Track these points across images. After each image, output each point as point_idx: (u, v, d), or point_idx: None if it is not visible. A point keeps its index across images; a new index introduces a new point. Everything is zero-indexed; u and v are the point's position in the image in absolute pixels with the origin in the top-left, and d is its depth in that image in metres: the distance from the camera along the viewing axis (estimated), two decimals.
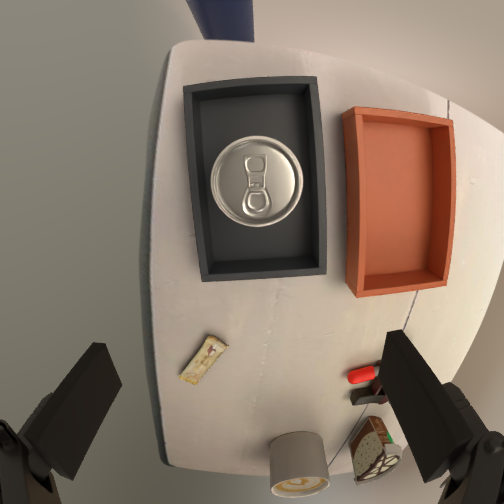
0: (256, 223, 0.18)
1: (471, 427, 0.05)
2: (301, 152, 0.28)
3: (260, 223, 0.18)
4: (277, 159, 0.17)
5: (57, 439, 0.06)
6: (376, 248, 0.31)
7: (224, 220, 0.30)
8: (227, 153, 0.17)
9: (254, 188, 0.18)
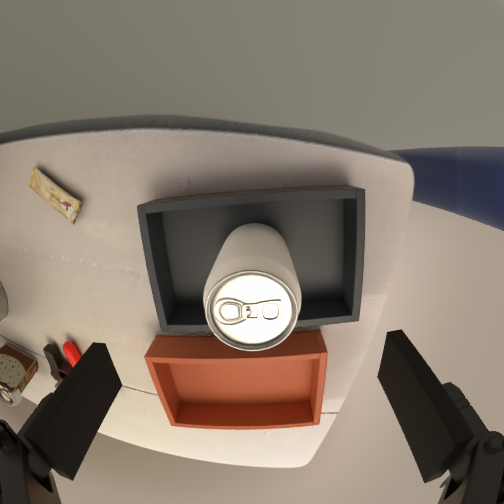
0: (207, 312, 0.17)
1: (471, 427, 0.05)
2: None
3: (207, 316, 0.17)
4: (275, 330, 0.17)
5: (57, 439, 0.06)
6: None
7: (206, 218, 0.27)
8: (284, 285, 0.16)
9: (244, 309, 0.17)
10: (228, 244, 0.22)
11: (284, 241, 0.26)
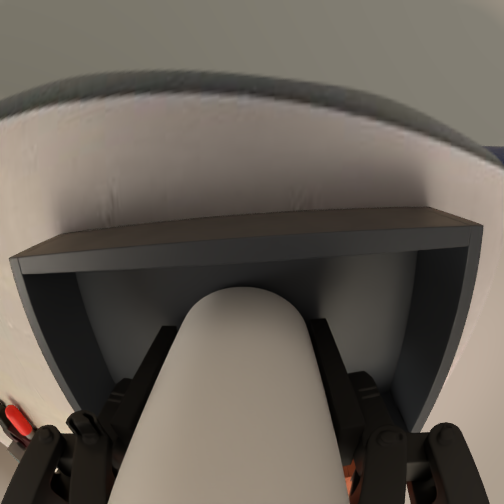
0: None
1: (374, 417, 0.07)
2: None
3: None
4: None
5: None
6: None
7: (147, 273, 0.13)
8: None
9: None
10: (169, 376, 0.08)
11: (305, 329, 0.12)
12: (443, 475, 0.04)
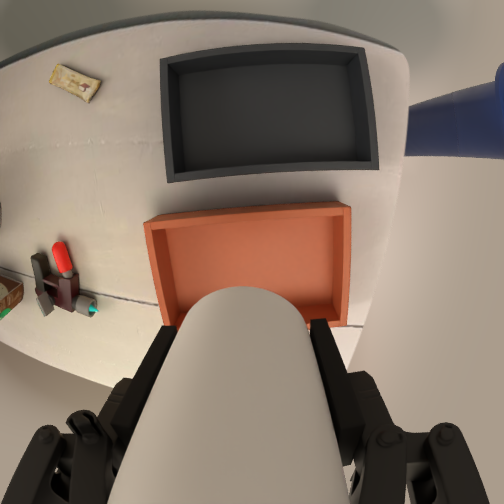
0: None
1: (374, 417, 0.07)
2: (295, 156, 0.27)
3: None
4: None
5: None
6: (196, 245, 0.30)
7: (222, 82, 0.25)
8: None
9: None
10: (169, 376, 0.08)
11: (305, 328, 0.12)
12: (443, 475, 0.04)
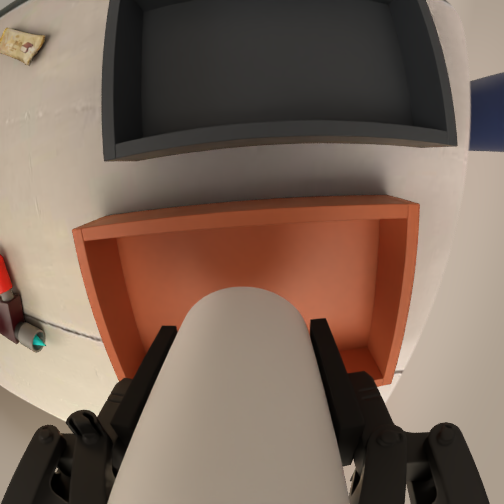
0: None
1: (374, 417, 0.07)
2: (322, 120, 0.15)
3: None
4: None
5: None
6: (162, 263, 0.18)
7: (205, 14, 0.13)
8: None
9: None
10: (169, 376, 0.08)
11: (305, 328, 0.12)
12: (443, 475, 0.04)
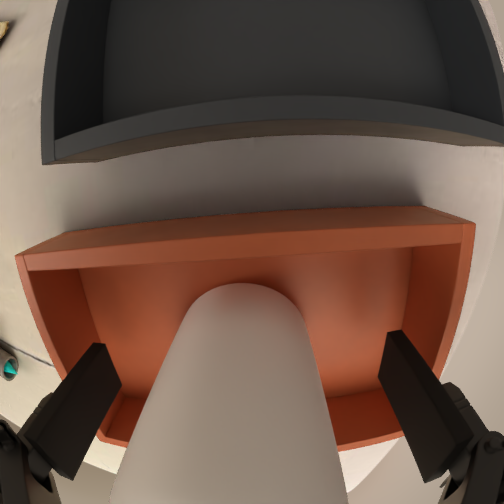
0: None
1: (471, 427, 0.05)
2: None
3: None
4: None
5: (57, 439, 0.06)
6: (132, 294, 0.14)
7: None
8: None
9: None
10: (171, 367, 0.08)
11: (302, 323, 0.12)
12: None
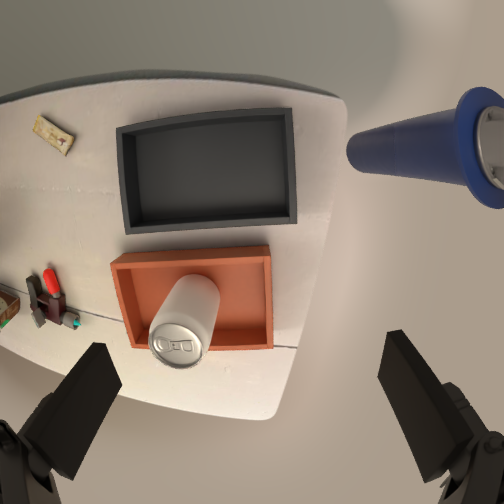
0: (149, 345, 0.25)
1: (471, 427, 0.05)
2: (230, 208, 0.33)
3: (150, 347, 0.25)
4: (191, 357, 0.26)
5: (57, 439, 0.06)
6: (153, 278, 0.36)
7: (170, 142, 0.31)
8: (192, 332, 0.25)
9: (171, 344, 0.26)
10: (169, 296, 0.30)
11: (214, 289, 0.35)
12: None
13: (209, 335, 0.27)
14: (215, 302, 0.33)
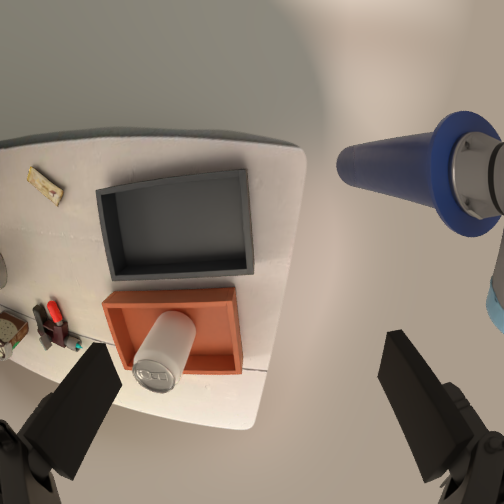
0: (133, 374, 0.30)
1: (471, 427, 0.05)
2: (199, 256, 0.38)
3: (134, 375, 0.30)
4: (166, 384, 0.31)
5: (57, 439, 0.06)
6: (140, 312, 0.41)
7: (144, 198, 0.36)
8: (165, 367, 0.30)
9: (150, 374, 0.30)
10: (150, 332, 0.35)
11: (189, 324, 0.39)
12: None
13: (180, 367, 0.32)
14: (189, 336, 0.37)
